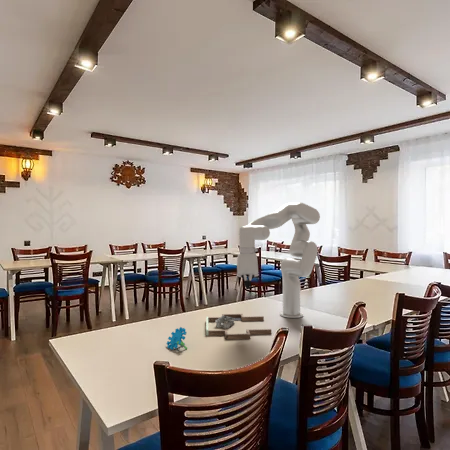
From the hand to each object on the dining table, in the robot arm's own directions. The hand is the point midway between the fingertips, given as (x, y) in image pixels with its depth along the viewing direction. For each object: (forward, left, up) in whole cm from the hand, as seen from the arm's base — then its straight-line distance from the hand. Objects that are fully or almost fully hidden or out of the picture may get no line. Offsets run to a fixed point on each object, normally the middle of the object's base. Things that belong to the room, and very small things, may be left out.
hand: (247, 288), depth 166 cm
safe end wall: (0, -20, -19) cm, 28 cm away
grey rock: (-4, -11, -20) cm, 23 cm away
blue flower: (+25, -33, -19) cm, 45 cm away
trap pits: (0, -6, -19) cm, 20 cm away
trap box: (0, -6, -19) cm, 20 cm away
